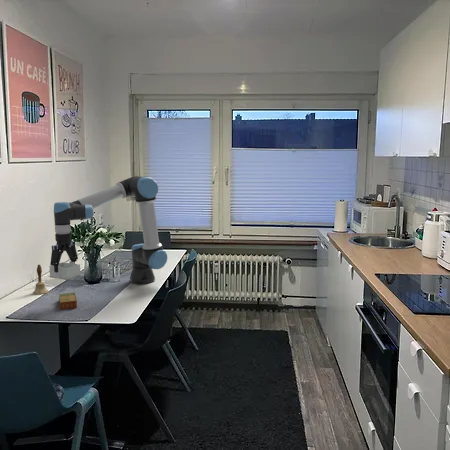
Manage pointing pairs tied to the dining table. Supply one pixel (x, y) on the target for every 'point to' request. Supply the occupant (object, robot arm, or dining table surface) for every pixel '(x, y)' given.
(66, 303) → the carton
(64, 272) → the crate
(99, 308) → the dining table surface
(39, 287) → the hand bell
